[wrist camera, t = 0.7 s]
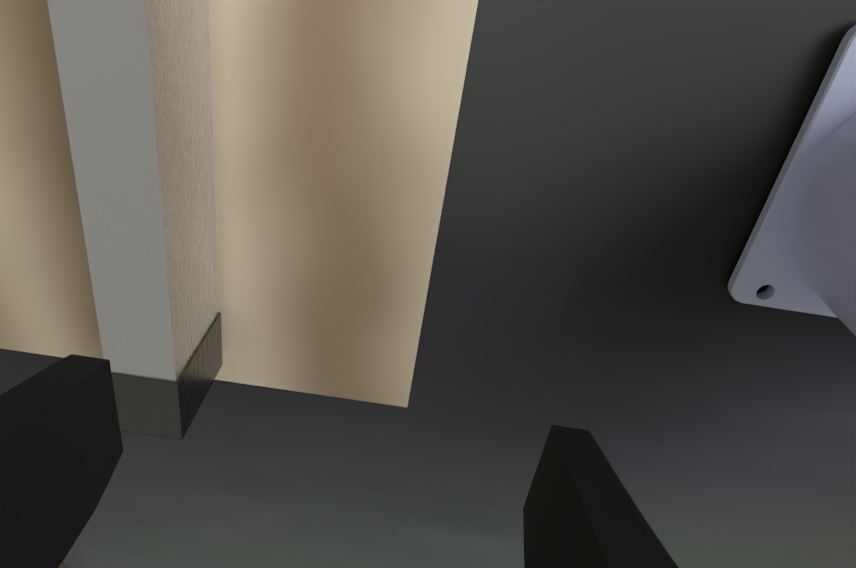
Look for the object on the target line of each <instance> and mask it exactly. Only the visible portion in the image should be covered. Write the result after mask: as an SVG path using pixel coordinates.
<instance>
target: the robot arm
mask: <svg viewBox="0 0 856 568" xmlns="http://www.w3.org/2000/svg"><path fill="white" fill-rule="evenodd" d="M764 285H769V287H768V288H767V289H766V291H764V292H762V293H757V290H758V289H759V288H760V287H762V286H764ZM728 291H729V293H730V294H731V296H732V297H733V298H734V299H735V300H736V301H738V302H740V303H745V304H752V305H758V306H765V307H771V308H778V309H784V310H791V311H797V312H804V313H810V314H817V315H823V316H830V317H836V318H839V319H840V320H841V321H842V322H843V323H844V324H845V325H846V326H847V328H848V329H849V330H850V331H851V332H852V333H853V334H854V335H855V336H856V25H854V26H853V27H852V28H851V29H850V30H848V31H847V33H846V34H845V36H844V37H843V39H842V41H841V43H840V45H839V47H838V49H837V51H836V54H835V56H834V58H833V60H832V62H831V64H830V66H829V68H828V71H827V73H826V75H825V77H824V79H823V81H822V83H821V86H820V88H819V90H818V92H817V94H816V96H815V98H814V101H813V103H812V105H811V107H810V109H809V111H808V113H807V115H806V118H805V120H804V122H803V124H802V126H801V128H800V130H799V133H798V135H797V137H796V139H795V141H794V143H793V145H792V147H791V150H790V152H789V154H788V156H787V158H786V160H785V162H784V165H783V167H782V169H781V171H780V173H779V175H778V177H777V180H776V182H775V184H774V186H773V188H772V190H771V192H770V194H769V197H768V199H767V201H766V203H765V205H764V207H763V209H762V212H761V214H760V216H759V218H758V220H757V222H756V224H755V226H754V229H753V231H752V233H751V235H750V237H749V239H748V241H747V244H746V246H745V248H744V250H743V252H742V254H741V256H740V259H739V261H738V263H737V265H736V267H735V269H734V271H733V273H732V276H731V278H730V280H729V283H728ZM122 452H123V446H122V440H121V433H120V426H119V420H118V413H117V407H116V400H115V393H114V387H113V380H112V373H111V367H110V360H108V359H101V358H95V357H88V356H81V355H74V354H70V355H69V356H67V357H65V358H63V359H61V360H60V361H58V362H56V363H54V364H53V365H51V366H49V367H47V368H46V369H44V370H42V371H41V372H39V373H37V374H35V375H34V376H32V377H30V378H29V379H27V380H25V381H24V382H22V383H20V384H19V385H17V386H15V387H14V388H12V389H10V390H9V391H7V392H5V393H4V394H2V395H0V568H58V567H59V566H60V564H61V563H62V561H63V560H64V558H65V557H66V555H67V553H68V552H69V550H70V549H71V547H72V546H73V544H74V542H75V541H76V539H77V538H78V536H79V535H80V533H81V531H82V530H83V528H84V527H85V525H86V523H87V522H88V520H89V519H90V517H91V515H92V514H93V512H94V511H95V509H96V507H97V505H98V503H99V501H100V499H101V497H102V495H103V493H104V491H105V489H106V487H107V485H108V483H109V480H110V478H111V476H112V474H113V472H114V470H115V467H116V465H117V463H118V461H119V459H120V457H121V454H122ZM523 514H524V562H525V568H678V567H677V565H676V564H675V562H674V561H673V560H672V558H671V557H670V555H669V554H668V552H667V551H666V549H665V548H664V546H663V545H662V543H661V542H660V540H659V539H658V538H657V536H656V535H655V533H654V532H653V530H652V529H651V527H650V526H649V524H648V523H647V521H646V520H645V518H644V517H643V515H642V514H641V512H640V511H639V509H638V508H637V506H636V505H635V503H634V501H633V500H632V498H631V497H630V495H629V494H628V492H627V490H626V489H625V487H624V486H623V484H622V483H621V481H620V479H619V478H618V476H617V475H616V473H615V471H614V470H613V468H612V467H611V465H610V463H609V462H608V460H607V458H606V457H605V455H604V454H603V452H602V450H601V449H600V447H599V445H598V444H597V442H596V441H595V439H594V438H593V436H592V435H591V433H590V432H589V430H583V429H576V428H569V427H562V426H556V425H552V426H551V429H550V432H549V435H548V438H547V441H546V444H545V447H544V450H543V453H542V455H541V458H540V461H539V464H538V467H537V470H536V473H535V476H534V479H533V482H532V484H531V487H530V490H529V493H528V496H527V499H526V502H525V505H524V508H523Z"/></svg>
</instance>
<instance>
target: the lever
mask: <svg viewBox="0 0 856 568" xmlns="http://www.w3.org/2000/svg"><path fill="white" fill-rule="evenodd" d="M47 2H48V9H49V15H50V21H51V28H52V34H53V40H54V47H55V53H56V59H57V66H58V72H59V79H60V85H61V91H62V98H63V104H64V110H65V117H66V123H67V130H68V136H69V142H70V149H71V155H72V161H73V168H74V174H75V180H76V187H77V193H78V200H79V206H80V212H81V219H82V225H83V231H84V238H85V244H86V250H87V257H88V263H89V270H90V276H91V282H92V289H93V295H94V301H95V308H96V314H97V320H98V327H99V333H100V340H101V346H102V352H103V359H108V360H110V367H111V373H112V380H113V387H114V393H115V400H116V407H117V413H118V420H119V426H120V431H123V432H130V433H137V434H144V435H151V436H158V437H165V438H172V439H180V440H182V439H183V437H184V435H185V433H186V431H187V430H188V428H189V426H190V424H191V422H192V420H193V418H194V417H195V415H196V413H197V411H198V409H199V407H200V405H201V403H202V402H203V400H204V398H205V396H206V394H207V392H208V390H209V389H210V387H211V385H212V383H213V381H214V379H215V377H216V376H217V374H218V372H219V370H220V368H221V366H222V332H221V313H220V312H219V307H218V277H217V247H216V217H215V187H214V157H213V127H212V97H211V67H210V37H209V7H208V0H47Z"/></svg>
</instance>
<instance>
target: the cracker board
mask: <svg viewBox="0 0 856 568" xmlns="http://www.w3.org/2000/svg"><path fill="white" fill-rule="evenodd" d="M477 5H478V0H208V7H209V37H210V67H211V97H212V127H213V157H214V187H215V217H216V247H217V277H218V307H219V312H220V313H221V332H222V366H221V368H220V370H219V372H218V374H217V376H216V377H215V380H221V381H228V382H235V383H242V384H249V385H256V386H263V387H270V388H277V389H284V390H290V391H297V392H304V393H311V394H318V395H325V396H332V397H339V398H346V399H352V400H359V401H366V402H373V403H380V404H387V405H394V406H401V407H407V406H408V400H409V395H410V389H411V383H412V377H413V372H414V366H415V360H416V354H417V349H418V343H419V337H420V332H421V326H422V320H423V314H424V309H425V303H426V297H427V291H428V286H429V280H430V274H431V268H432V263H433V257H434V251H435V246H436V240H437V234H438V228H439V223H440V217H441V211H442V205H443V200H444V194H445V188H446V182H447V177H448V171H449V165H450V160H451V154H452V148H453V142H454V137H455V131H456V125H457V119H458V114H459V108H460V102H461V96H462V91H463V85H464V79H465V74H466V68H467V62H468V56H469V51H470V45H471V39H472V33H473V28H474V22H475V16H476V10H477ZM0 348H1V349H8V350H15V351H21V352H28V353H35V354H42V355H49V356H56V357H63V358H65V357H67V356H69V355H70V354H74V355H81V356H88V357H95V358H101V359H103V352H102V346H101V340H100V333H99V327H98V320H97V314H96V308H95V301H94V295H93V289H92V282H91V276H90V270H89V263H88V257H87V250H86V244H85V238H84V231H83V225H82V219H81V212H80V206H79V200H78V193H77V187H76V180H75V174H74V168H73V161H72V155H71V149H70V142H69V136H68V130H67V123H66V117H65V110H64V104H63V98H62V91H61V85H60V79H59V72H58V66H57V59H56V53H55V47H54V40H53V34H52V28H51V21H50V15H49V9H48V2H47V0H0Z"/></svg>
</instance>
